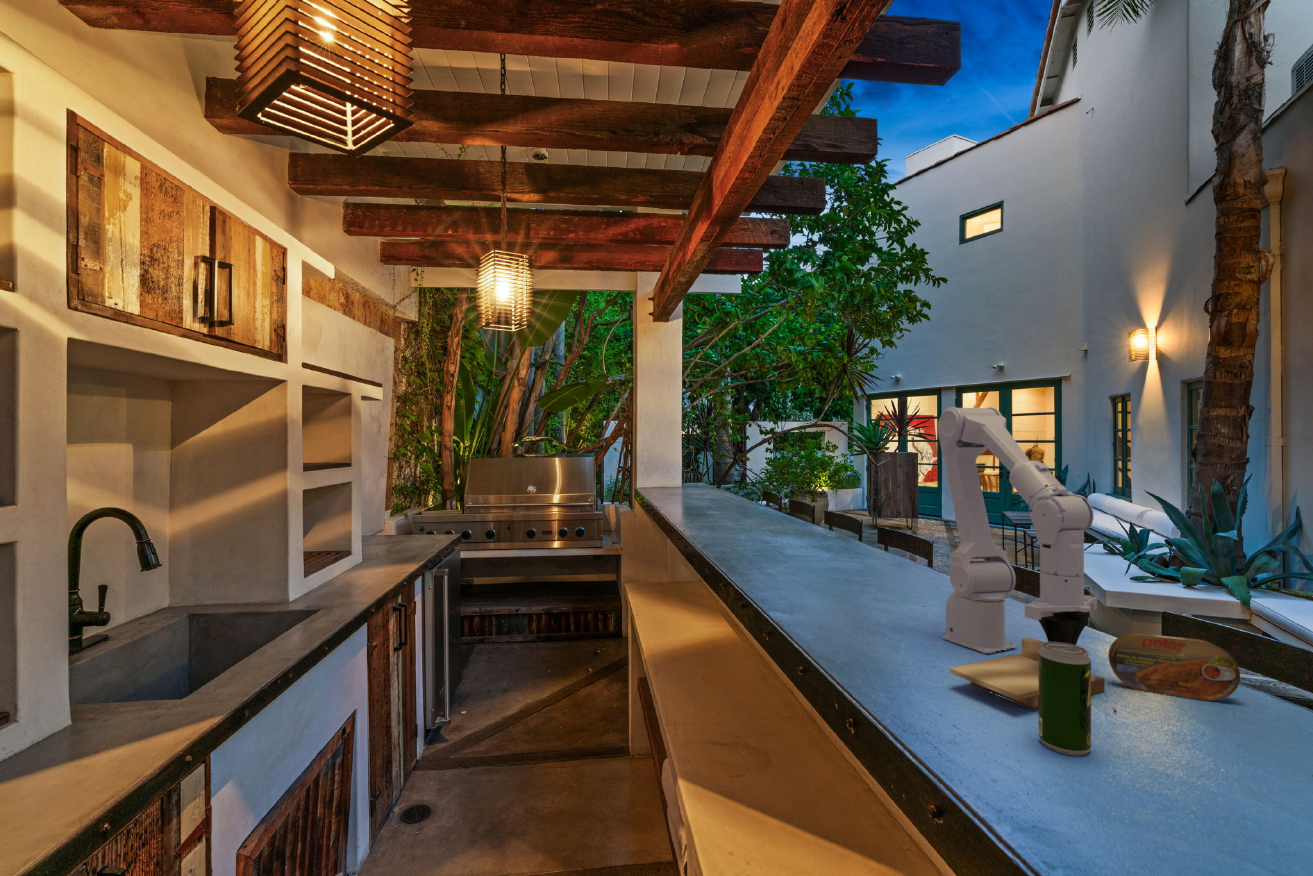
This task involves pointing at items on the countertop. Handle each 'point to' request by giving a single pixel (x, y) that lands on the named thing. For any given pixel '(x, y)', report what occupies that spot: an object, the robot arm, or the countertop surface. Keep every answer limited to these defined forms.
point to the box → (1033, 701)
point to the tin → (1174, 666)
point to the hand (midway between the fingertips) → (1061, 660)
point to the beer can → (1064, 698)
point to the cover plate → (1007, 672)
